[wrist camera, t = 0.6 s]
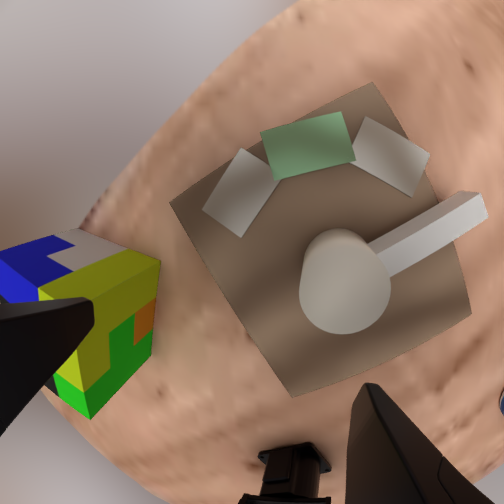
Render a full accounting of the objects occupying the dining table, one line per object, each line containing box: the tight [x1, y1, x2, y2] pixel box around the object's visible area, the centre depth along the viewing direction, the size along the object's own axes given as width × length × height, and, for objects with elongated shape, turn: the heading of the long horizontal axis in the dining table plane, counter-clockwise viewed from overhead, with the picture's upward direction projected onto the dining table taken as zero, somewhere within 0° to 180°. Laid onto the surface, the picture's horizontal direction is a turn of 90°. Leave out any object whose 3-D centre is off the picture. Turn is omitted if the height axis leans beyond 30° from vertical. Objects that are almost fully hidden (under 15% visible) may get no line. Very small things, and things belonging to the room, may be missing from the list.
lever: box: [299, 191, 488, 334], centre depth 14 cm, size 11×4×5 cm, turn 121°
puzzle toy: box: [0, 228, 161, 420], centre depth 19 cm, size 10×10×10 cm
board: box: [169, 82, 472, 398], centre depth 18 cm, size 18×17×2 cm
